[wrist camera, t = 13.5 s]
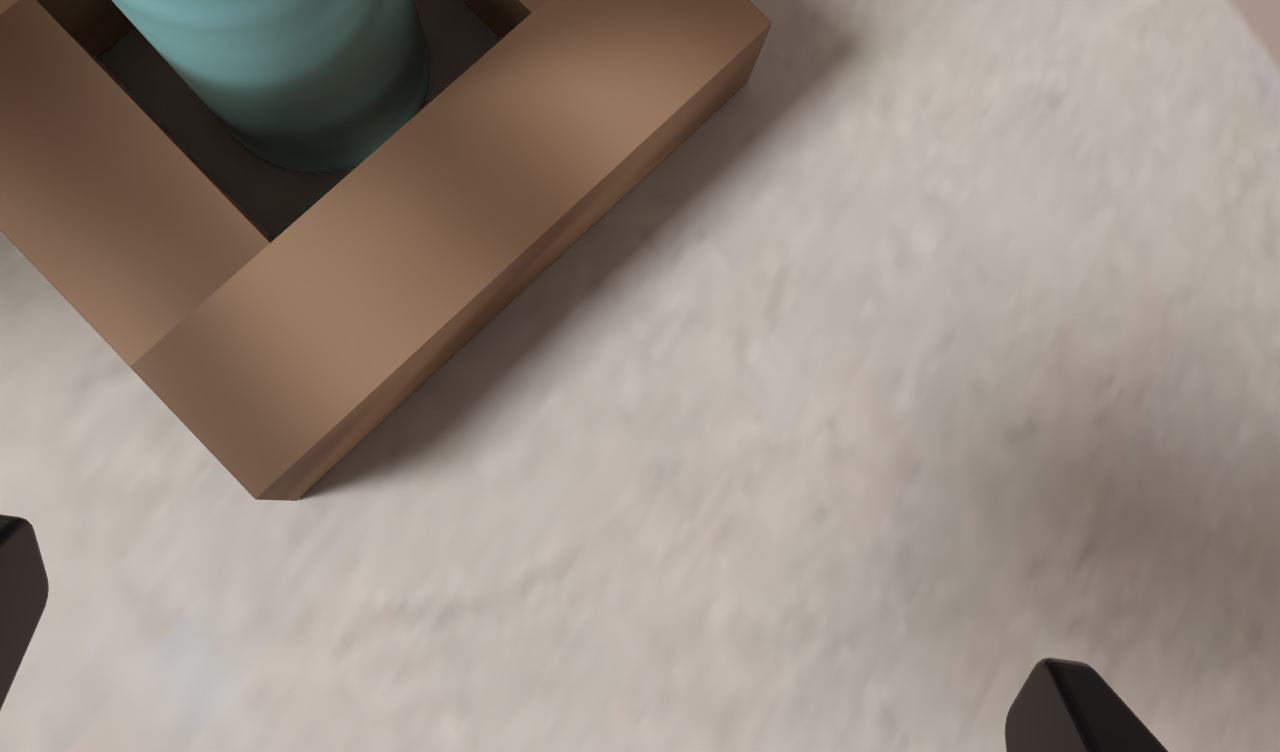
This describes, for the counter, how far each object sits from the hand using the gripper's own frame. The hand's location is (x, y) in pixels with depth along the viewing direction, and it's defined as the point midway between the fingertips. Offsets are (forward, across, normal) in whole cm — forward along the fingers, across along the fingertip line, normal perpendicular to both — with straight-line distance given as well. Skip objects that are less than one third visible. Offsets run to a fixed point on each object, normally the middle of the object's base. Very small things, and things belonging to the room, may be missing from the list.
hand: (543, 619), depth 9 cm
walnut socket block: (+17, +7, +2) cm, 18 cm away
